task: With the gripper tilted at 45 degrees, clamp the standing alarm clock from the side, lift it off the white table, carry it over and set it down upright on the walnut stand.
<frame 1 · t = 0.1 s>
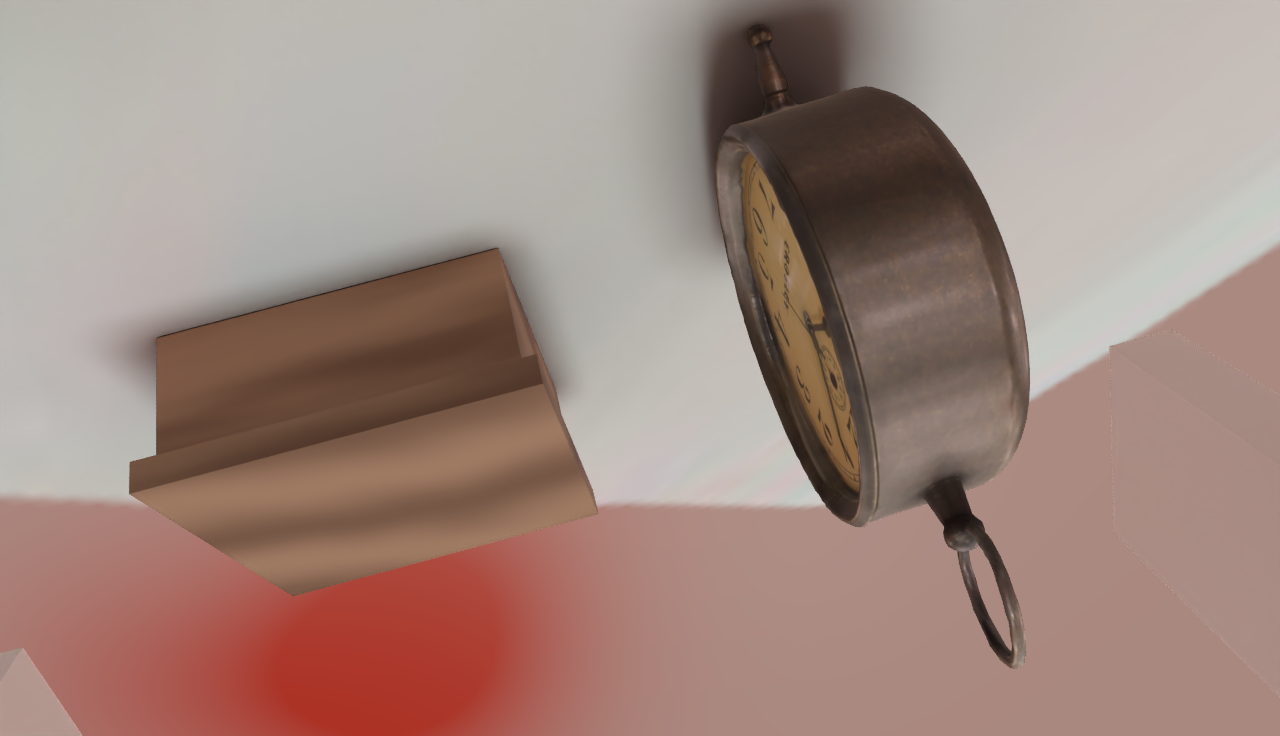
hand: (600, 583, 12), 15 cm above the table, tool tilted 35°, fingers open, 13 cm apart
alarm clock: (788, 122, 29), on the table
walnut stand: (382, 367, 35), on the table
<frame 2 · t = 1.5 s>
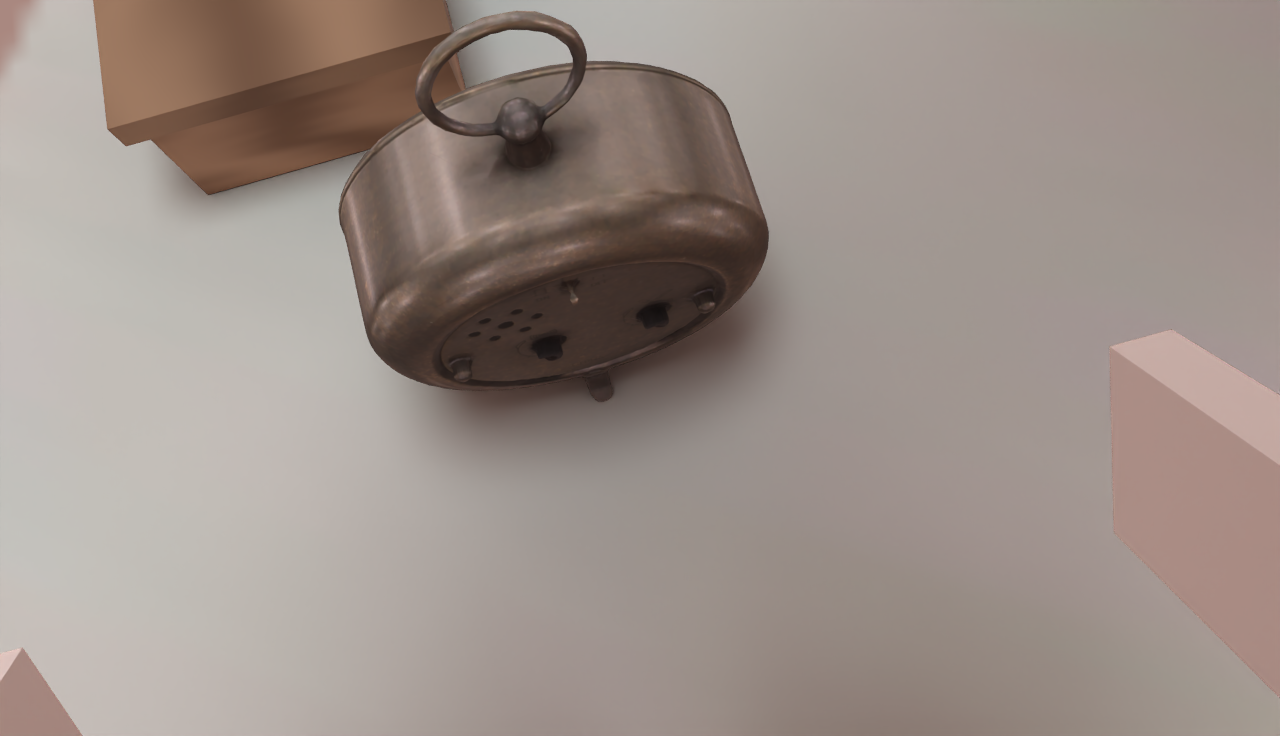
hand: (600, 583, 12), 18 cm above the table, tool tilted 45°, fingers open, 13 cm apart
alarm clock: (592, 341, 33), on the table
walnut stand: (316, 36, 37), on the table
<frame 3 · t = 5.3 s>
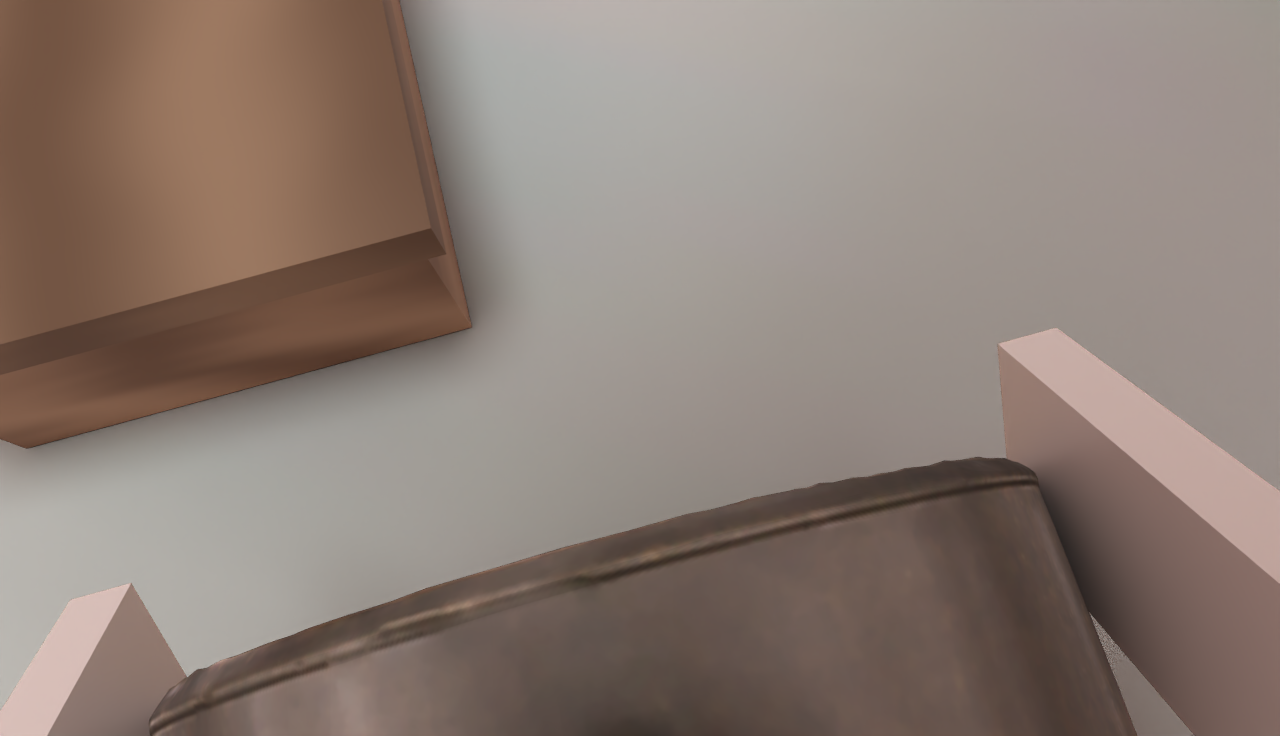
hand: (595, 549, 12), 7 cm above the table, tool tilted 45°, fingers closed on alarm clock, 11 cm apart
walnut stand: (221, 174, 23), on the table
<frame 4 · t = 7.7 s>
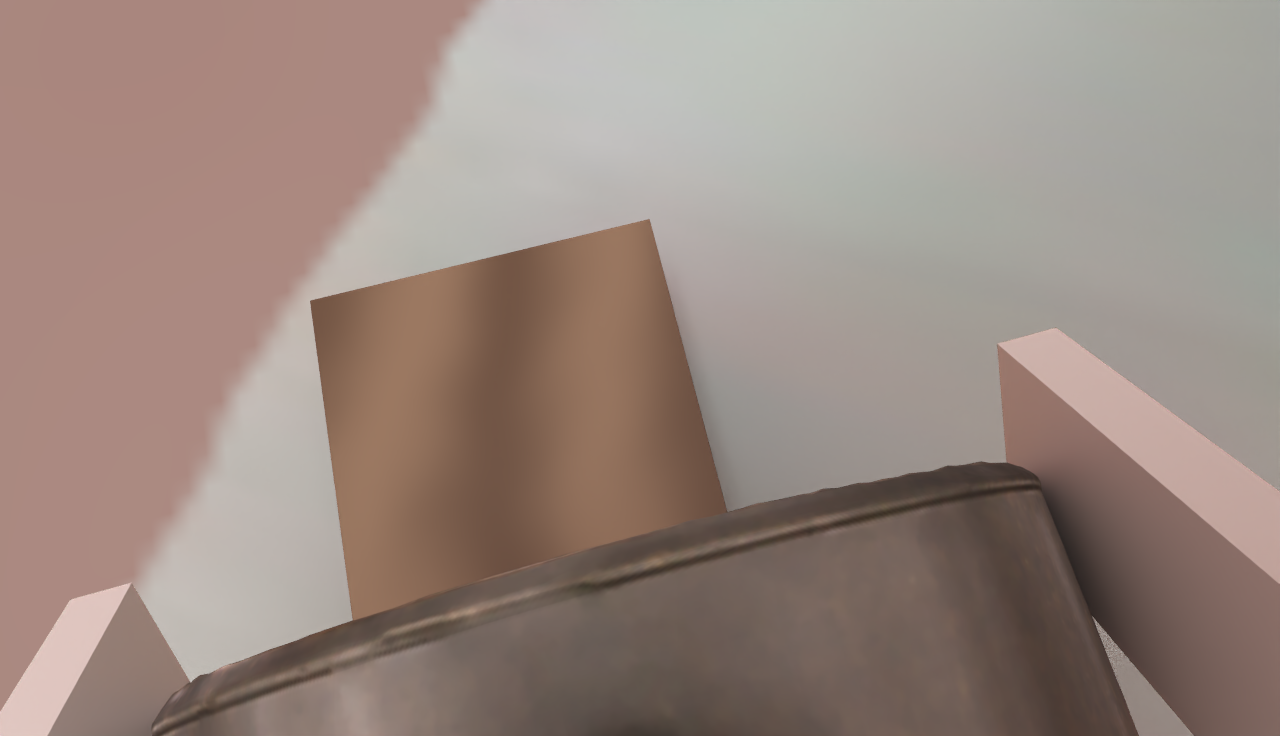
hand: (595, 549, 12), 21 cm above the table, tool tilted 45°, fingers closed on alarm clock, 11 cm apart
walnut stand: (544, 476, 34), on the table
when the fingers open (14 cm above the table, at t = 10.1 s): alarm clock drops 1 cm, resting on walnut stand.
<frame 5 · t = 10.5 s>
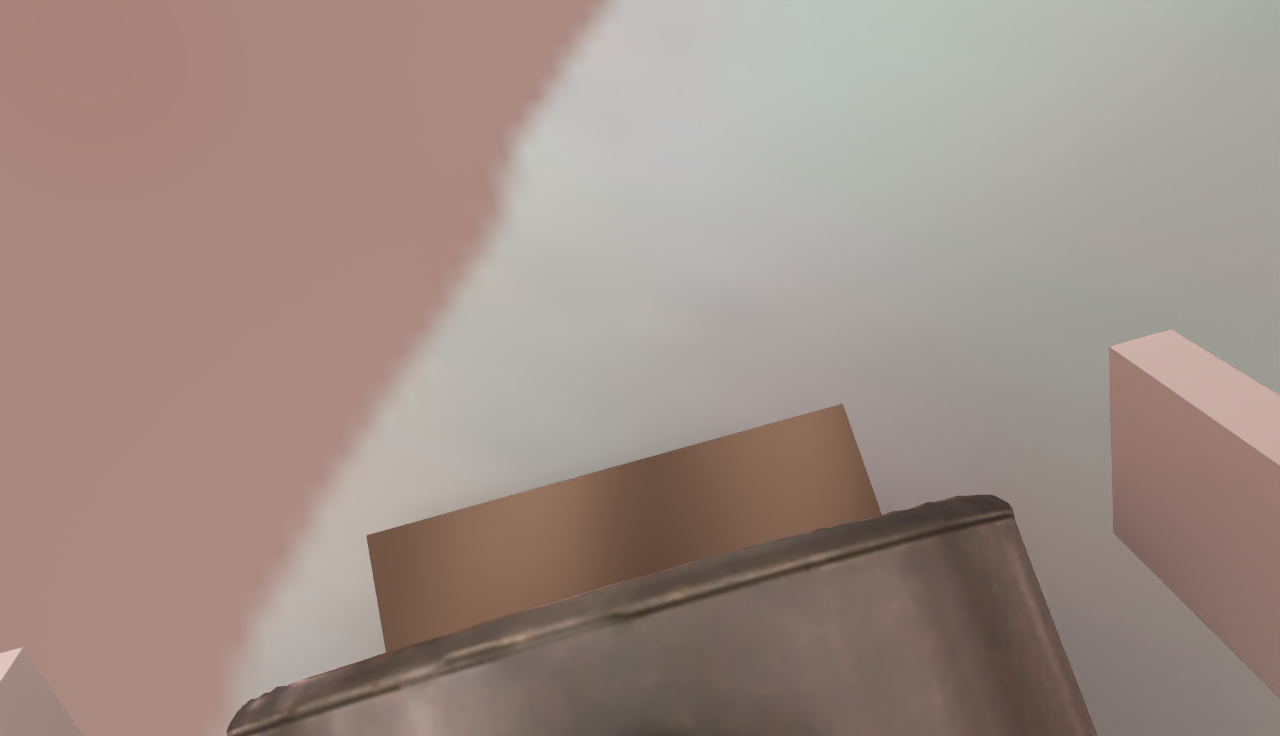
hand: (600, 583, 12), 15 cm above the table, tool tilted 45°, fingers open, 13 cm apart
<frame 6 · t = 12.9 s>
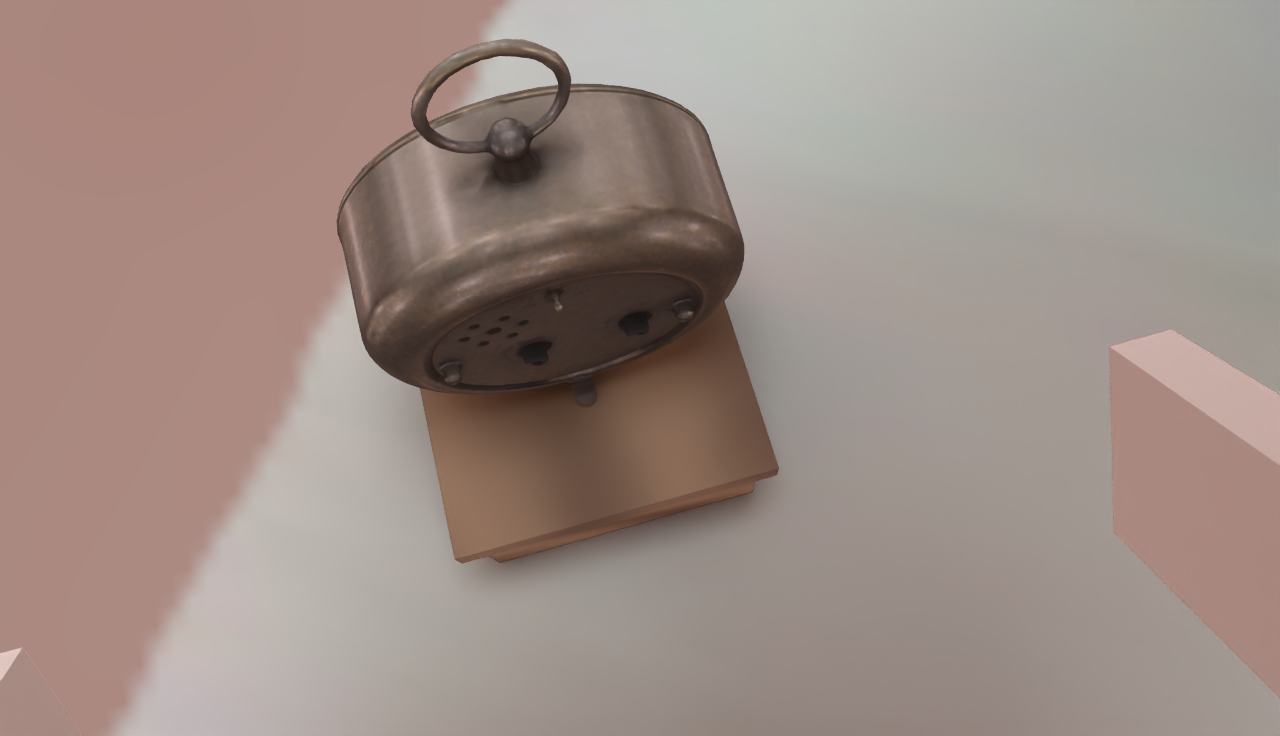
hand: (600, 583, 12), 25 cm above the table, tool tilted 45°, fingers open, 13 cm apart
alarm clock: (578, 349, 34), point 5 cm above the table, touching walnut stand
walnut stand: (591, 394, 39), on the table
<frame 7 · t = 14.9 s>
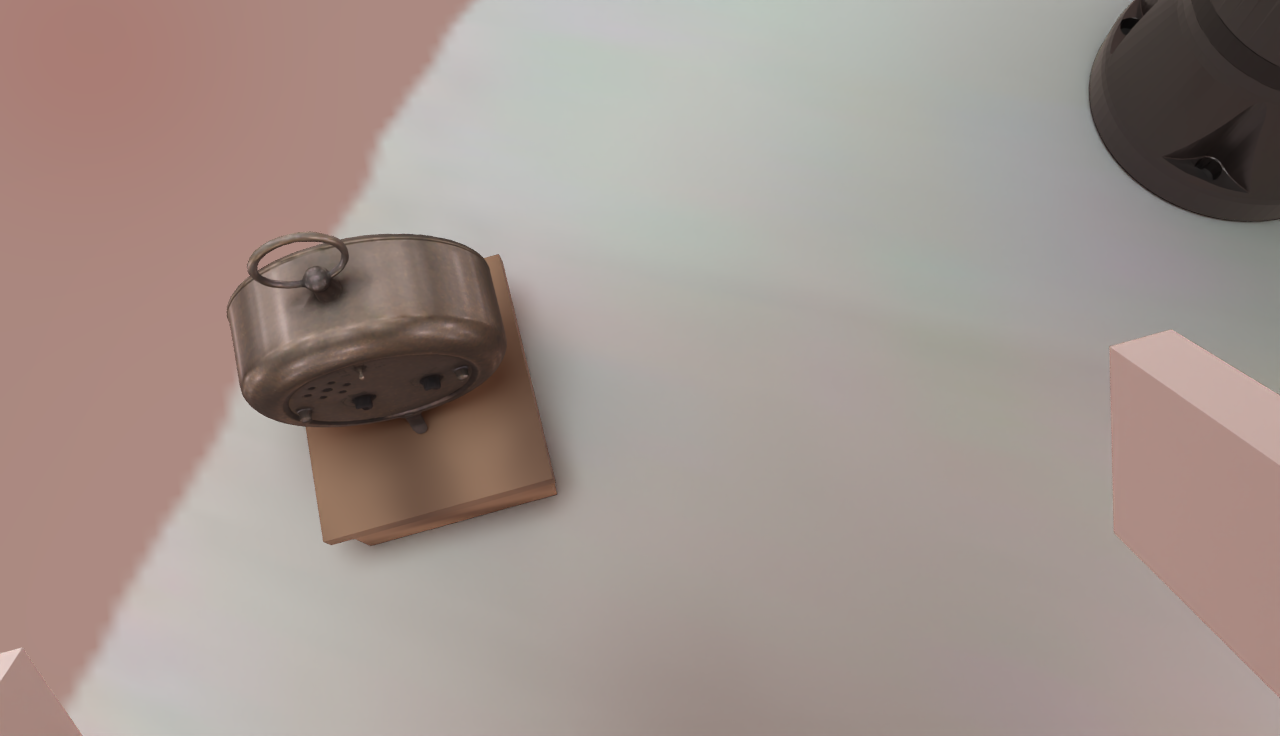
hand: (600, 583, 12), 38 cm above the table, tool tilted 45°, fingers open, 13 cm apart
alarm clock: (418, 391, 47), point 5 cm above the table, touching walnut stand
walnut stand: (443, 421, 52), on the table
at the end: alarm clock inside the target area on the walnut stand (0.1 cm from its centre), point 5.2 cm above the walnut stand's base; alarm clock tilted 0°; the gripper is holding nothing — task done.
